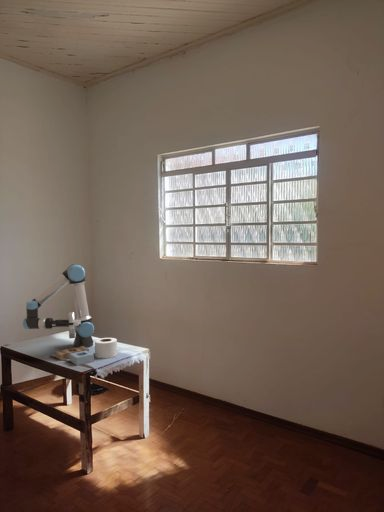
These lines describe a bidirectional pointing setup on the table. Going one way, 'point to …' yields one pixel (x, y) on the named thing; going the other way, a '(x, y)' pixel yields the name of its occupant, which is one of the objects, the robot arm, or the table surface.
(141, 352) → the table surface
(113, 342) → the toilet paper roll
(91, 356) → the seat block
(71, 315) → the steel axle
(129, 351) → the table surface
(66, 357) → the walnut beam
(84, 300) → the robot arm
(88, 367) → the table surface
